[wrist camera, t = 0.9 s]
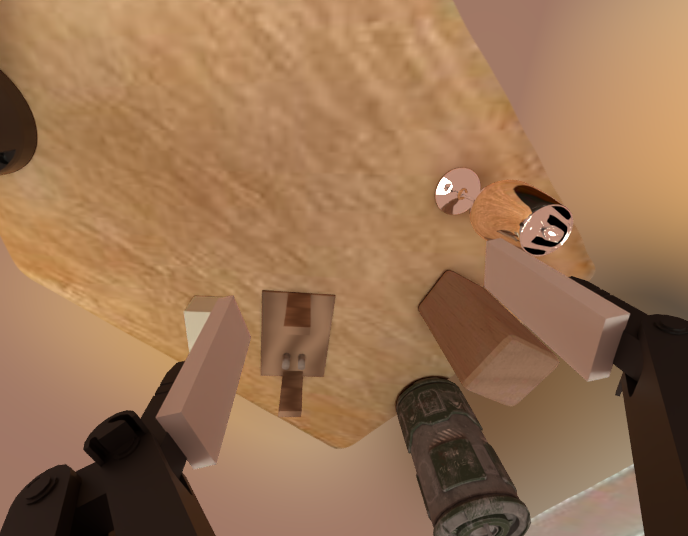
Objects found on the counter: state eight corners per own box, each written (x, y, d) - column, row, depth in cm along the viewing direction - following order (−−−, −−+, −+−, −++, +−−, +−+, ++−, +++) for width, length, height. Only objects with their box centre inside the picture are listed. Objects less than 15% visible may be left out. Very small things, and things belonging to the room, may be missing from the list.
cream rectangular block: (202, 356, 57) (192, 375, 52) (194, 295, 51) (183, 311, 46) (233, 356, 57) (227, 376, 53) (230, 296, 52) (222, 312, 47)
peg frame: (261, 373, 60) (252, 416, 51) (262, 290, 51) (252, 324, 42) (323, 375, 62) (325, 417, 53) (335, 295, 53) (339, 328, 44)
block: (446, 267, 53) (514, 337, 35) (485, 288, 56) (566, 363, 38) (414, 308, 56) (462, 391, 39) (453, 325, 59) (514, 411, 42)
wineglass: (447, 159, 45) (539, 181, 27) (489, 175, 46) (600, 206, 29) (425, 207, 48) (494, 255, 30) (465, 220, 49) (553, 273, 32)
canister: (389, 384, 65) (438, 545, 40) (457, 367, 65) (549, 518, 40) (399, 427, 72) (446, 587, 47) (461, 412, 72) (541, 564, 47)
